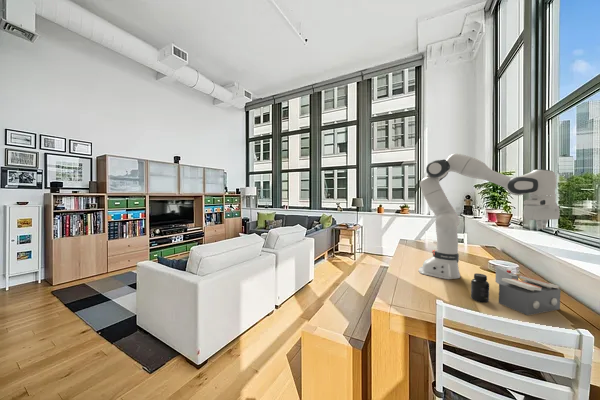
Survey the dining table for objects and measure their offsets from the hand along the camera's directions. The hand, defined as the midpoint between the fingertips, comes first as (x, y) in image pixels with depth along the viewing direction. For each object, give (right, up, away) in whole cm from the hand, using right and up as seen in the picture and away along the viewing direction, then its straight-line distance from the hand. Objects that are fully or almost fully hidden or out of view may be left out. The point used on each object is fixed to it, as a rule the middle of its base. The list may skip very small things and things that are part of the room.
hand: (541, 228), depth 117 cm
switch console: (-20, -33, -13) cm, 41 cm away
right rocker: (-15, -24, -12) cm, 31 cm away
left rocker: (-25, -24, -15) cm, 38 cm away
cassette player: (-11, -33, +7) cm, 36 cm away
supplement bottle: (-37, -33, -7) cm, 51 cm away
